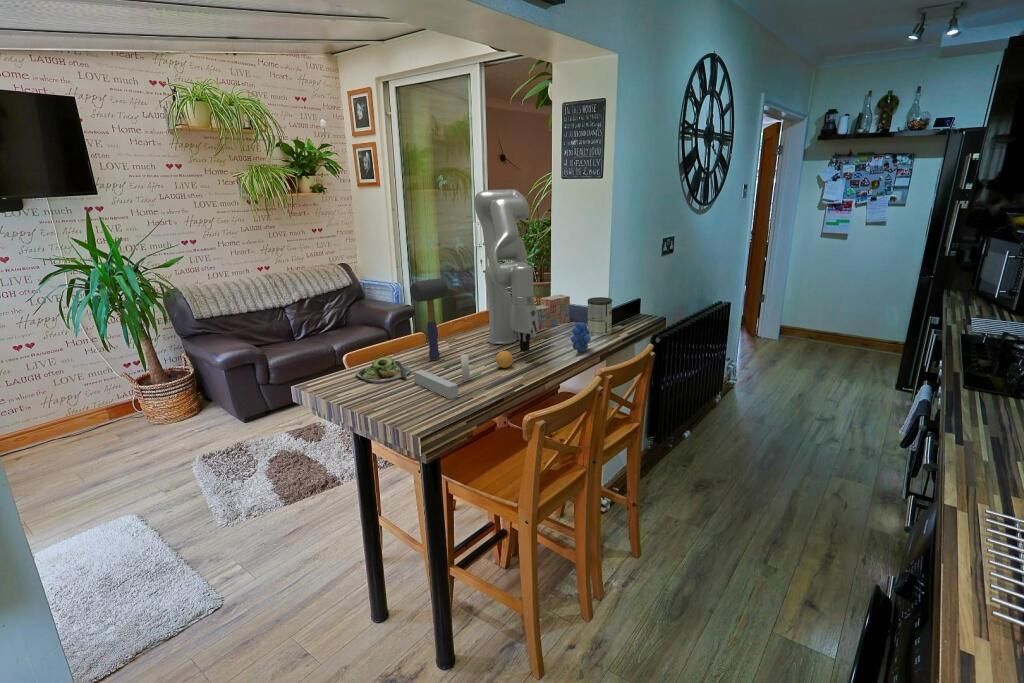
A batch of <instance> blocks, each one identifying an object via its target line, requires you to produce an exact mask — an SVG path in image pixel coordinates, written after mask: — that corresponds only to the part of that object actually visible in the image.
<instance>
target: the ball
mask: <svg viewBox="0 0 1024 683" xmlns="http://www.w3.org/2000/svg"><path fill="white" fill-rule="evenodd" d="M495 362H496V364H497V365H498V367H500V368H503V369H506V368H509V367H510V366H512V364H513V362H514V357H513V355H512V353H511V352H510V351H508V350H501V351H499V352H498V353H497V354H496V356H495Z"/></svg>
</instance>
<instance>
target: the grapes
mask: <svg viewBox="0 0 1024 683" xmlns="http://www.w3.org/2000/svg"><path fill="white" fill-rule="evenodd" d="M571 333H572V335H571V337H570V341H571V343H573V344H572V345H571V346H572V348H573V350H575V351H577V353H579V354H580V353H582V352H584V351H585V350H587V349H588V347H589V346H588V344H589V343H590V342H591V336H590V335H591V334H590V331H589V329H588V324H586V323H585V322H579V321H578V322H576V323H575V325H574V327H573V328H572V329H571Z"/></svg>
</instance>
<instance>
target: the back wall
mask: <svg viewBox="0 0 1024 683" xmlns="http://www.w3.org/2000/svg"><path fill="white" fill-rule="evenodd" d="M413 378H414V380H413V381H414V384H415V383H416V385H417V386H420V387H422V386H423V387H422V388H424V387H425V388H424V389H426V388H427V389H426V390H428V389H429V391H430V390H431V392H433V391H434V392H433V393H435V392H436V393H435V394H437V393H438V394H437V395H439V394H440V395H439V396H441V395H442V396H441V397H443V396H444V398H445V397H446V399H448V400H450V399H451V400H453V398H454V399H456V398H455V397H457V398H458V397H459V390H458V383H455V382H452V381H450V380H447V379H446V378H443V377H441V376H438V375H435V374H433V373H430V372H429V371H426V370H424V369H419V370H415V371H413Z"/></svg>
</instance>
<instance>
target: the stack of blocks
mask: <svg viewBox="0 0 1024 683" xmlns="http://www.w3.org/2000/svg"><path fill="white" fill-rule="evenodd" d="M570 298H571V297H570V295H564V294H557V295H556V294H554V295H551V296H546V297H542V298H541V300H540V302H541V303H540V304H539V305H536V309H537V314H538V324H539V330H542V329H543V330H544V329H546V328H551V327H554V326H559V325H561V324H566V323H569V322H571V320H570V318H571V317H570V315H571V314H570V311H571V310H570V309H571V300H570Z"/></svg>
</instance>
